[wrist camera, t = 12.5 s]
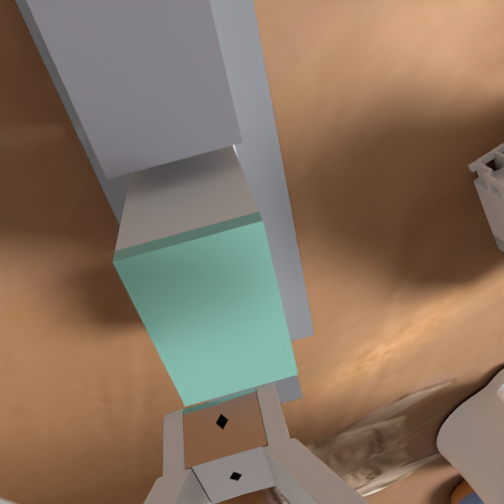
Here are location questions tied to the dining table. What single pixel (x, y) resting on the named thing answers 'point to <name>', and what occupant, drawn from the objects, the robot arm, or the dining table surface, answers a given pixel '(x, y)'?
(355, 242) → the dining table surface
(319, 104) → the dining table surface
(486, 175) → the circuit breaker
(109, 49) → the rail assembly
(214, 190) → the block
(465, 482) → the doughnut
